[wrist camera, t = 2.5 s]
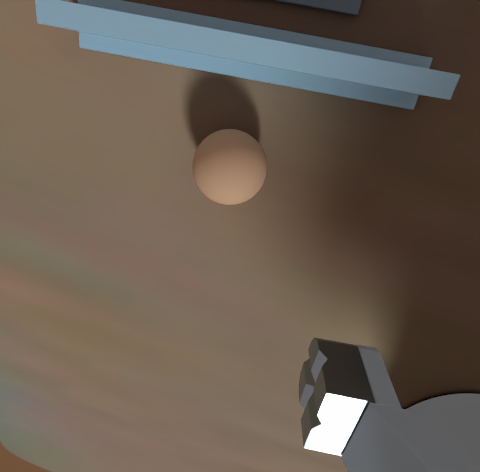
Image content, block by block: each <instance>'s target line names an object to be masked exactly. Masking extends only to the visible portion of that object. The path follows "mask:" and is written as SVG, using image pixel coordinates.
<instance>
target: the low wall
mask: <svg viewBox="0 0 480 472" xmlns="http://www.w3.org/2000/svg"><path fill="white" fill-rule="evenodd" d="M35 3H36V14H37V23H40V24H44V25H49V26H54V27H59V28H64V29H69V30H74V31H78V32H79V44H80V48H85V49H90V50H96V51H101V52H106V53H112V54H117V55H122V56H128V57H133V58H138V59H144V60H149V61H154V62H160V63H165V64H170V65H176V66H181V67H187V68H192V69H197V70H203V71H208V72H213V73H219V74H224V75H229V76H235V77H240V78H245V79H251V80H256V81H261V82H267V83H272V84H277V85H283V86H288V87H294V88H299V89H304V90H310V91H315V92H320V93H326V94H331V95H336V96H342V97H347V98H352V99H358V100H363V101H368V102H374V103H379V104H385V105H390V106H395V107H401V108H406V109H411V110H414V107H415V104H416V102H417V99H418V96H419V95H422V96H428V97H435V98H441V99H447V100H450V99H451V97H452V94H453V92H454V90H455V87H456V85H457V82H458V80H459V78H460V75H459V74H454V73H448V72H443V71H438V70H432V69H429V67H430V65H431V62H432V59H433V58H431V57H425V56H420V55H415V54H409V53H404V52H398V51H393V50H388V49H382V48H377V47H371V46H366V45H361V44H355V43H350V42H344V41H339V40H334V39H328V38H323V37H317V36H312V35H307V34H301V33H296V32H290V31H285V30H280V29H274V28H269V27H263V26H258V25H253V24H247V23H242V22H237V21H231V20H226V19H220V18H215V17H210V16H204V15H199V14H193V13H188V12H183V11H177V10H172V9H166V8H161V7H156V6H150V5H145V4H139V3H134V2H129V1H123V0H78V4H77V3H71V2H66V1H61V0H35Z"/></svg>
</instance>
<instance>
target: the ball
mask: <svg viewBox="0 0 480 472" xmlns="http://www.w3.org/2000/svg"><path fill="white" fill-rule="evenodd" d="M266 173H267V162H266V157H265V154H264V151H263V149H262V147H261V146H260V144H259V143H258V142H257V141H256V140H255V139H254V138H253V137H252V136H251V135H249V134H247V133H245V132H243V131H240V130H236V129H223V130H219V131H216V132H214V133H212V134H210V135H209V136H207V137H206V138H205V139H204V140H203V141H202V142H201V143H200V145H199V146H198V148H197V150H196V152H195V155H194V158H193V175H194V178H195V181H196V183H197V185H198V187H199V189H200V190H201V191H202V192H203V194H205V195H206V196H207V197H208V198H210V199H211V200H213V201H215V202H217V203H221V204H226V205H234V204H239V203H243V202H245V201H247V200H249V199H250V198H252V197H253V196H254V195H255V194H256V193H257V192H258V191H259V190H260V188H261V187H262V185H263V183H264V181H265V177H266Z"/></svg>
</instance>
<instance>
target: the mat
mask: <svg viewBox="0 0 480 472" xmlns="http://www.w3.org/2000/svg"><path fill="white" fill-rule="evenodd" d="M274 1H279V2H285V3H290V4H296V5H301V6H306V7H312V8H317V9H323V10H328V11H334V12H339V13H344V14H350V15H355V16H357V15H358V13H359V9H360V6H361V2H362V0H274Z"/></svg>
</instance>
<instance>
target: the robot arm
mask: <svg viewBox="0 0 480 472" xmlns="http://www.w3.org/2000/svg"><path fill="white" fill-rule="evenodd" d="M308 350H309V358H310V359H308V360H307V361H305V362H304V363H303V366H302V370H301V373H300V380H299V402H300V403H301V405H302V406H303V407H304V409H305V410H304V413H303V416H302V418H301V425H302V436H303V446H304V448H306V449H311V450H315V451H320V452H325V453H329V454H334V455H339V456H342V457H341V459H342V461H343V463H344V464H345V466H346V467H347V469H348V471H349V472H480V394H472V393H464V394H451V395H444V396H439V397H435V398H432V399H428V400H425V401H423V402H420V403H418V404H416V405H413V406H411V407H409V408H407V409H402V408H401V405H400V403H399V400H398V398H397V395H396V393H395V390H394V387H393V385H392V382H391V380H390V377H389V375H388V372H387V370H386V367H385V365H384V362H383V360H382V357H381V355H380V352H379V351H378V350H377V349H376V348H373V347H367V346H361V345H353V344H347V343H342V342H336V341H331V340H325V339H319V338H313V340H312V341H311V344H310V346H309V349H308Z"/></svg>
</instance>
